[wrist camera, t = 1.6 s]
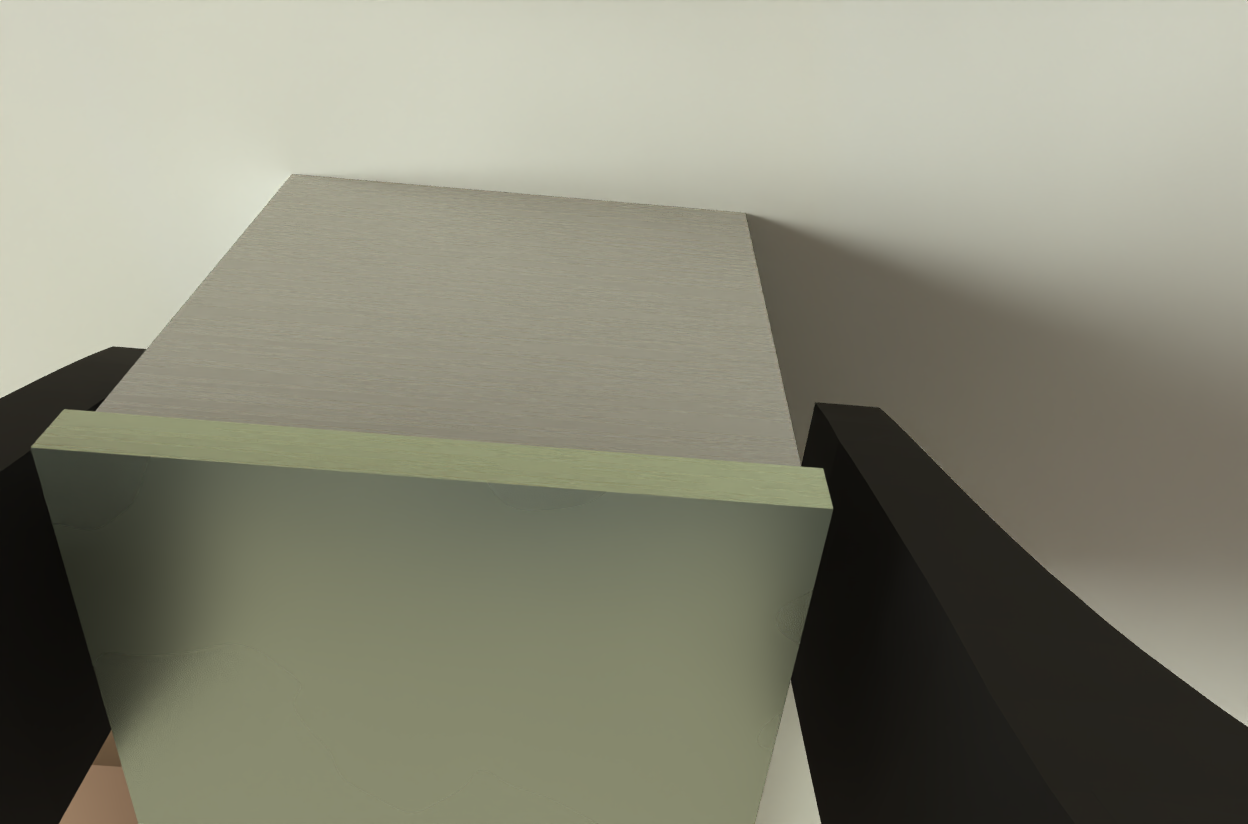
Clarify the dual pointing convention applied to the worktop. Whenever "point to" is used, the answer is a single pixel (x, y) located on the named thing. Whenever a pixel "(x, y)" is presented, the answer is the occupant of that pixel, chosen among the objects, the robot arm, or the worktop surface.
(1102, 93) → the worktop surface
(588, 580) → the tea tin
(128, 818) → the walnut block
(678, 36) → the worktop surface
